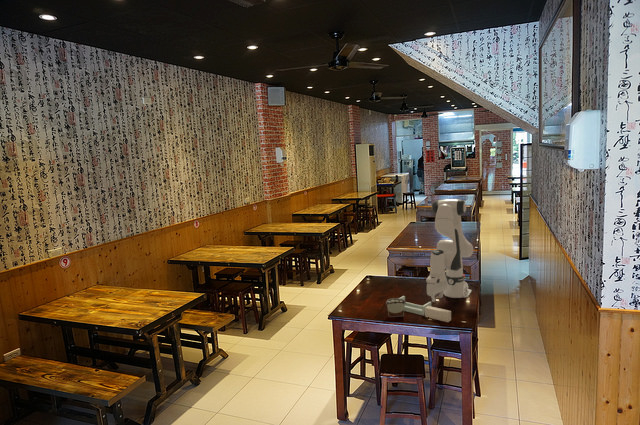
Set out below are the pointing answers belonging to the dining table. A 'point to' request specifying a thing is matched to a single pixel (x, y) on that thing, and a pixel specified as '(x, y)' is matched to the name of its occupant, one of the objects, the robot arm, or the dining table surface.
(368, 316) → the dining table surface
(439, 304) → the dining table surface
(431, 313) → the clay strip
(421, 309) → the grey elongated piece
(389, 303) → the food container
